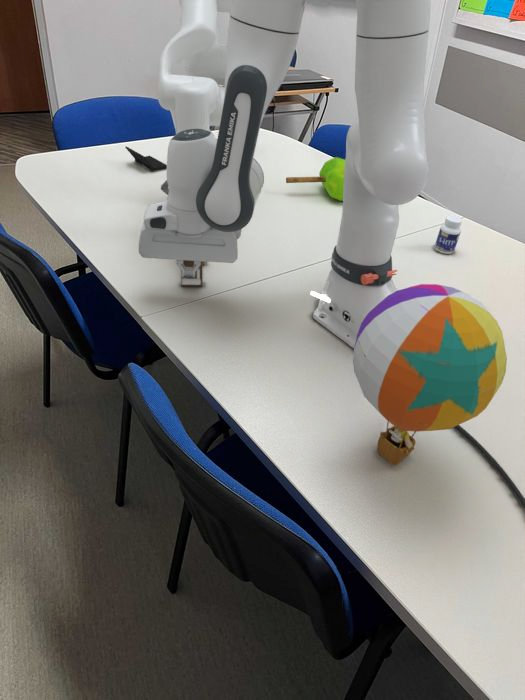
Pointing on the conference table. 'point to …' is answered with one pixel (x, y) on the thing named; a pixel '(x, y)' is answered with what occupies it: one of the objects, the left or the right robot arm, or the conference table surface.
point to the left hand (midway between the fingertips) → (193, 217)
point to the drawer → (192, 281)
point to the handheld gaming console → (147, 161)
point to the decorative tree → (327, 177)
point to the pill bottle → (448, 235)
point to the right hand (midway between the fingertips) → (188, 276)
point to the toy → (427, 362)
